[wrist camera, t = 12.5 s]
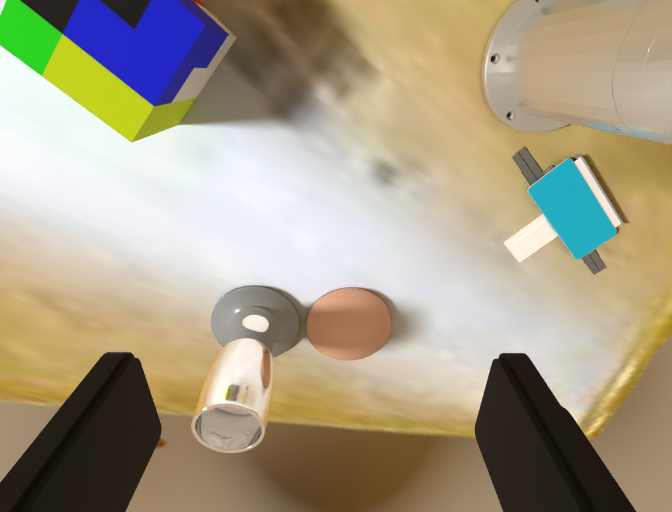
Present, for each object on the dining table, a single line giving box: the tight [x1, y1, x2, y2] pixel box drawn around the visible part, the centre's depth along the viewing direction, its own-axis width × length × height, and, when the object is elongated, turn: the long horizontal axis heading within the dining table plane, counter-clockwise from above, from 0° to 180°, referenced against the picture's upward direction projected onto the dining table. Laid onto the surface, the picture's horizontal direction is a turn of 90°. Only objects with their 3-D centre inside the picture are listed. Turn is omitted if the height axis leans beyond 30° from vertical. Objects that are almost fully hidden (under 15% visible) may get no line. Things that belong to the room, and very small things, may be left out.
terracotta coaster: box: [306, 287, 392, 361], centre depth 47 cm, size 11×11×1 cm
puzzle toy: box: [0, 0, 237, 142], centre depth 28 cm, size 10×10×10 cm
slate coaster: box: [211, 286, 299, 357], centre depth 47 cm, size 11×11×1 cm
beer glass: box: [191, 307, 280, 453], centre depth 39 cm, size 7×7×15 cm
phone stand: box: [504, 147, 625, 275], centre depth 42 cm, size 20×12×2 cm, turn 43°
